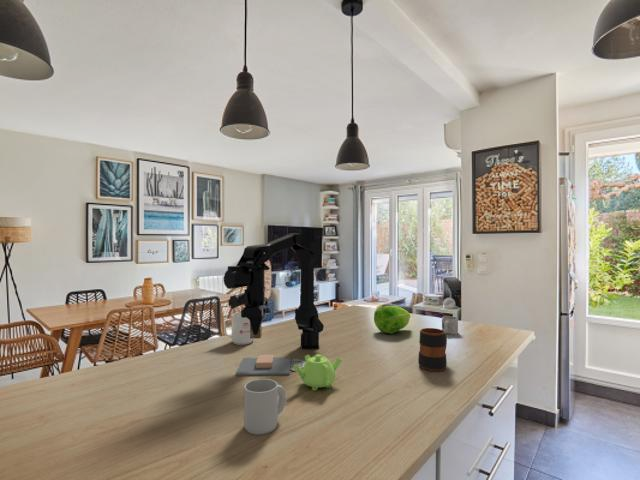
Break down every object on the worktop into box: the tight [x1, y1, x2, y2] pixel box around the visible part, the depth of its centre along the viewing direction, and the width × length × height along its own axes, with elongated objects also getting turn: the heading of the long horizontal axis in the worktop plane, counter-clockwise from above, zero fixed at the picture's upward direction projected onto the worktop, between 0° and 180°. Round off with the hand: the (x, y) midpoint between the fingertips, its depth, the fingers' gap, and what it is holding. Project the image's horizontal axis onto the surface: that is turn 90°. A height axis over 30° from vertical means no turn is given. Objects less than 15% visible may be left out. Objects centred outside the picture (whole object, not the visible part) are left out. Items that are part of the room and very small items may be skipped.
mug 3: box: [441, 315, 459, 336], centre depth 154 cm, size 10×7×7 cm, turn 144°
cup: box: [243, 378, 287, 436], centre depth 78 cm, size 7×10×9 cm
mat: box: [235, 356, 292, 377], centre depth 112 cm, size 16×14×1 cm
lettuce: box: [373, 305, 411, 335], centre depth 157 cm, size 14×20×12 cm
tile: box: [256, 354, 275, 368], centre depth 113 cm, size 5×2×7 cm
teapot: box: [293, 353, 342, 392], centre depth 99 cm, size 11×12×8 cm
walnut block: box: [250, 323, 263, 340], centre depth 114 cm, size 3×3×6 cm
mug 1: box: [223, 311, 255, 346], centre depth 139 cm, size 12×9×11 cm
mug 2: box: [417, 327, 448, 372], centre depth 114 cm, size 9×12×12 cm
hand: (256, 333), depth 114 cm, fingers closed on walnut block, 3 cm apart
